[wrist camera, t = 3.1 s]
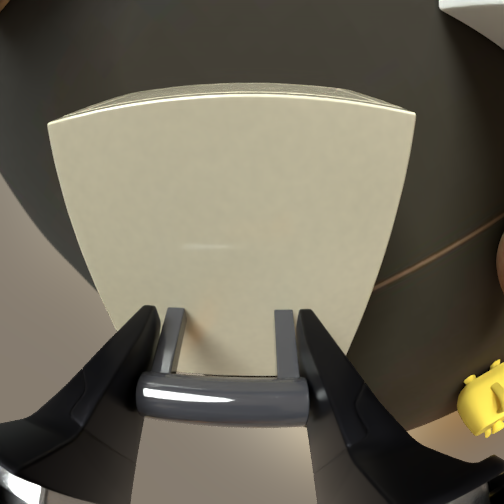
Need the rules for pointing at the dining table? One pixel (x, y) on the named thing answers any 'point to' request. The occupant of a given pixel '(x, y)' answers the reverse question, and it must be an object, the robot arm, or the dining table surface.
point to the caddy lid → (233, 235)
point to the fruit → (500, 262)
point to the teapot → (483, 401)
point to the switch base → (3, 4)
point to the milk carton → (479, 16)
